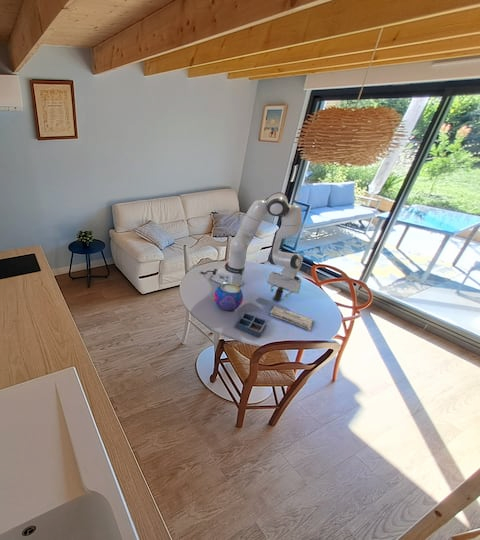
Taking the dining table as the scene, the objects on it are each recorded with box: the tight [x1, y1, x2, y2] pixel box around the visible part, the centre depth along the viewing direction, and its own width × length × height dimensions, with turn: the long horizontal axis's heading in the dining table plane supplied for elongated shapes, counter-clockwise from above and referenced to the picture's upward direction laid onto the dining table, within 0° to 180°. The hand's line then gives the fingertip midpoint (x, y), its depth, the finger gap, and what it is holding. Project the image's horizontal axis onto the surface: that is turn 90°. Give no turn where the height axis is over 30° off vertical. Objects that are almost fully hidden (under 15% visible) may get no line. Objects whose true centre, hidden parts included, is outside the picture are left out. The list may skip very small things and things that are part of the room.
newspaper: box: [269, 305, 314, 331], centre depth 176 cm, size 23×12×2 cm, turn 48°
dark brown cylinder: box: [273, 287, 284, 302], centre depth 192 cm, size 4×4×10 cm
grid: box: [235, 311, 268, 338], centre depth 169 cm, size 13×13×4 cm
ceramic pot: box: [213, 283, 244, 311], centre depth 184 cm, size 18×18×15 cm
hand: (278, 294), depth 191 cm, fingers open, 8 cm apart
